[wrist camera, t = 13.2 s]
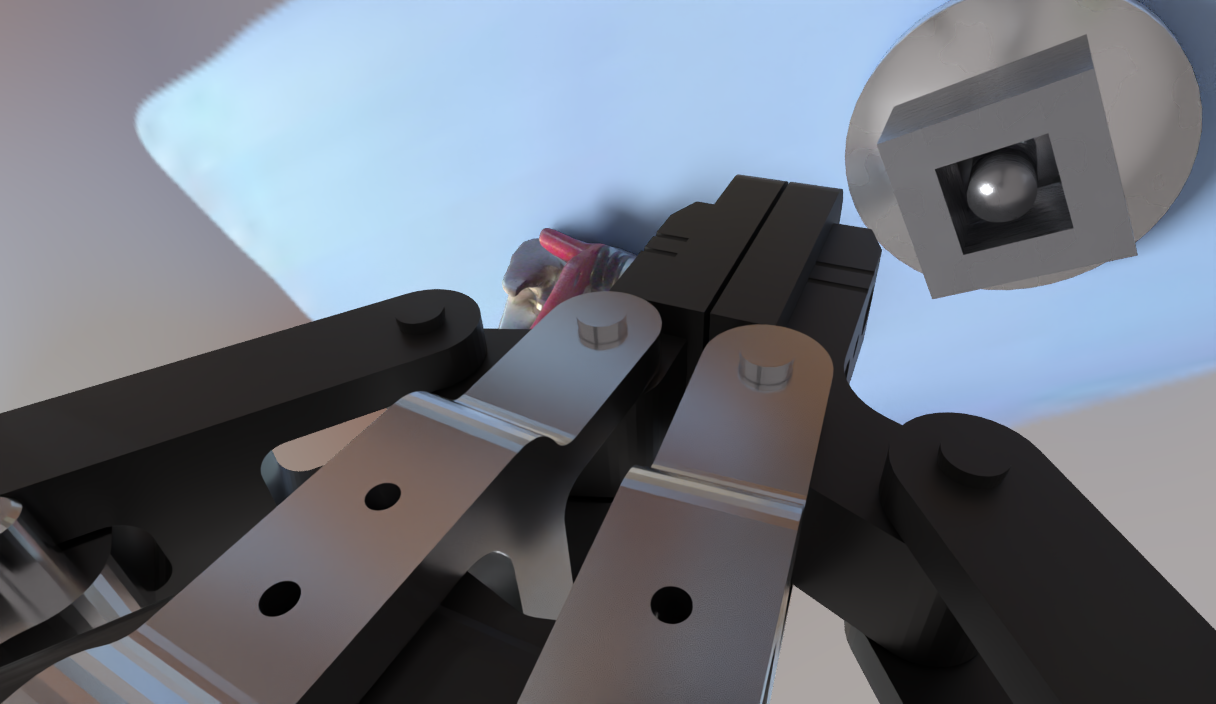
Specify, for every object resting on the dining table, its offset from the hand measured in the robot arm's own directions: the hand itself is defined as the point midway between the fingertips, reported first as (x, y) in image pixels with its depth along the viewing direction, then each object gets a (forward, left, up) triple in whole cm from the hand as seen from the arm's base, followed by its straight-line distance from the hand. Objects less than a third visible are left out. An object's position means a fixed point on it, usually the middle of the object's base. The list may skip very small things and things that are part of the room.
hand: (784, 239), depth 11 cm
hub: (+5, +4, -20) cm, 21 cm away
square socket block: (+5, +4, -19) cm, 20 cm away
